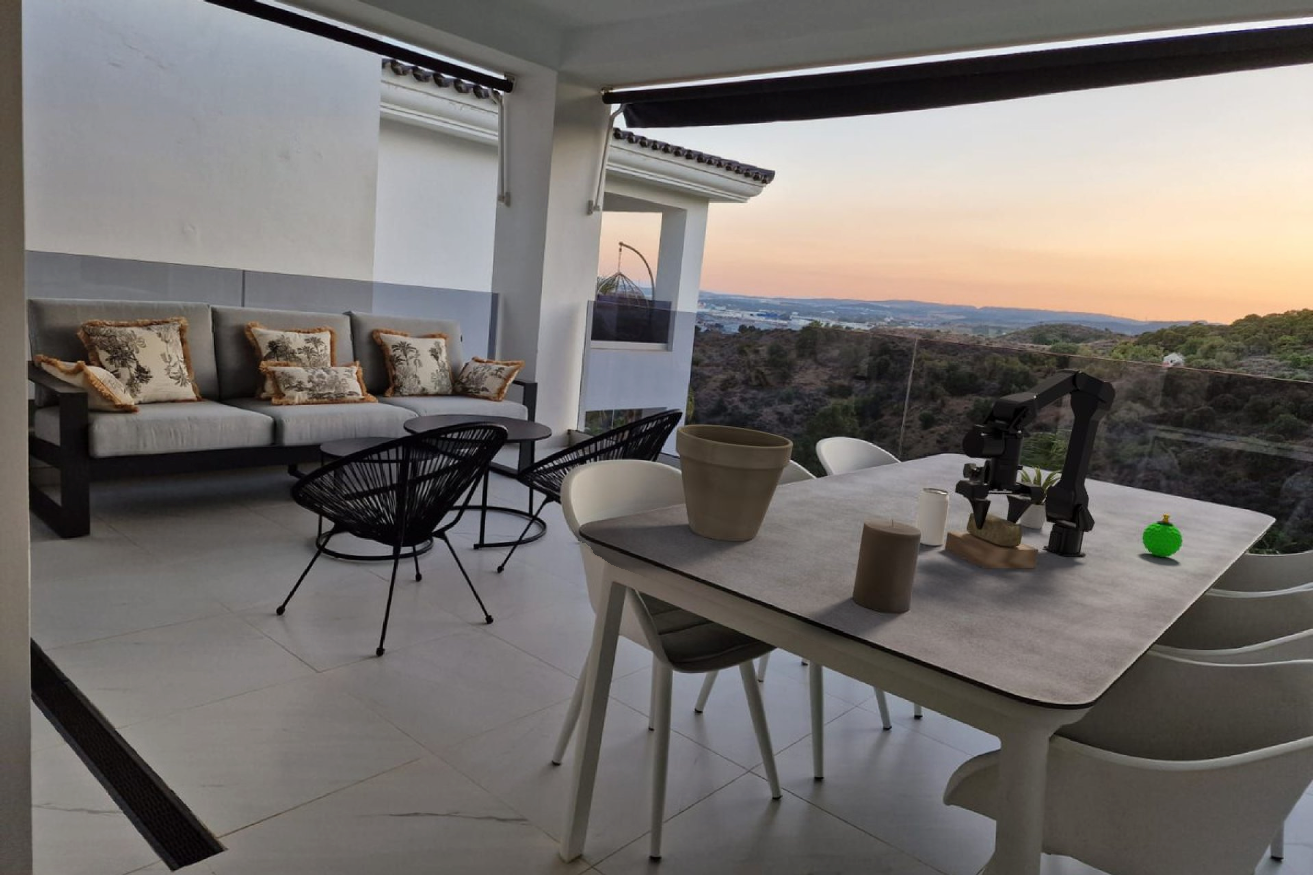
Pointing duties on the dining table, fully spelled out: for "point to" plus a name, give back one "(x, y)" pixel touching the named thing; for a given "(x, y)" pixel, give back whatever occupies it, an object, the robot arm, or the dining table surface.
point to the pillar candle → (886, 566)
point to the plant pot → (729, 478)
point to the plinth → (990, 552)
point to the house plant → (1036, 501)
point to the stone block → (996, 531)
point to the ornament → (1162, 538)
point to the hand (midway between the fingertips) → (993, 529)
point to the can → (932, 516)
